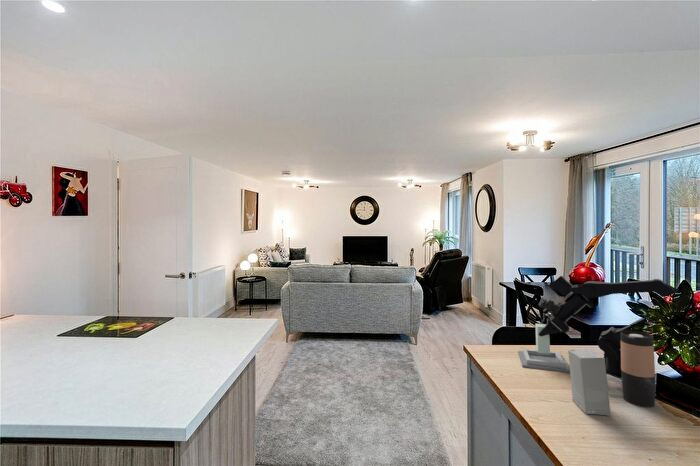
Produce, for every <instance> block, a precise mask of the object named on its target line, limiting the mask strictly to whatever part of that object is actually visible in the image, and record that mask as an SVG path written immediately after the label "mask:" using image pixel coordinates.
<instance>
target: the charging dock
mask: <svg viewBox="0 0 700 466" xmlns="http://www.w3.org/2000/svg"><path fill="white" fill-rule="evenodd" d="M517 353H518V356H519V360H520V362H521V363H520V364H521V367H522V368H527V369H528V368H529V369H538V370H547V371H555V372H563V373H564V372H565V373H570V365H569V363H568V362H567V360H566V358H565V356H563V354H560V353H559V351H551V350H550V354H547V353H538V351H537V349H527V348H522V350H518V351H517Z"/></svg>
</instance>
